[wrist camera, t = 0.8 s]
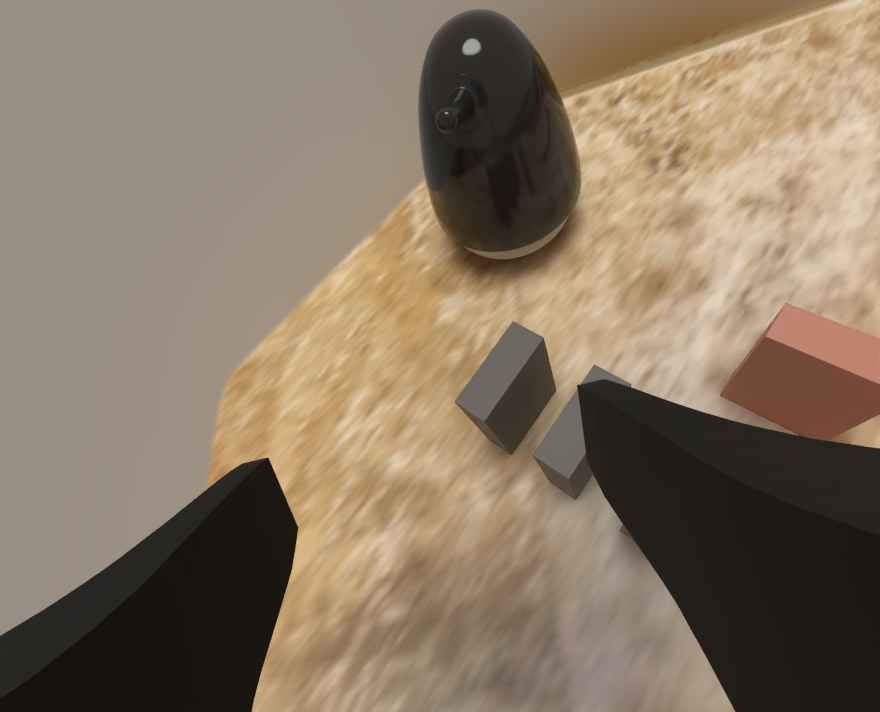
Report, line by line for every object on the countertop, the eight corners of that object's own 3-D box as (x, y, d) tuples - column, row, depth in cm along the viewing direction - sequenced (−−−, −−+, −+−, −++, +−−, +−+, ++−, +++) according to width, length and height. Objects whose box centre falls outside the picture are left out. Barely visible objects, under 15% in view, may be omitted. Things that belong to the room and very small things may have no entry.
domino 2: (622, 428, 27) (631, 384, 20) (575, 499, 26) (568, 479, 19) (594, 412, 28) (594, 364, 21) (549, 481, 27) (532, 455, 20)
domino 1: (556, 390, 29) (543, 337, 22) (511, 455, 28) (483, 421, 21) (532, 376, 30) (512, 321, 23) (488, 438, 29) (454, 401, 22)
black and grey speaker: (435, 279, 35) (338, 112, 22) (465, 173, 39) (396, -28, 25) (571, 288, 31) (553, 91, 18) (591, 169, 35) (588, -69, 22)
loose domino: (735, 370, 26) (786, 302, 19) (835, 416, 24) (933, 358, 17) (719, 395, 26) (765, 336, 19) (819, 444, 24) (912, 397, 17)
